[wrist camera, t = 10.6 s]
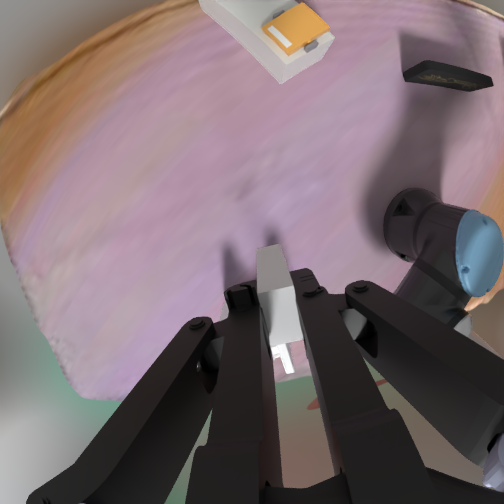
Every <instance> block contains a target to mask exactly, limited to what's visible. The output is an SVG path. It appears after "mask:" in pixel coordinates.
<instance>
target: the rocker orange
mask: <svg viewBox="0 0 504 504" xmlns="http://www.w3.org/2000/svg"><path fill="white" fill-rule="evenodd" d="M261 29H262V31H263V32H264V33H265V34H266V35H267V36H268V37H269V38H270V39H271V40H273V41H274V42H275V43H276V44H277V45H278V46H279V47H280V48H281V49H282V50H283V51H284V52H285V53H286V54H287V55H288V56H290V55H291V54H293V53H294V52H296V51H297V50H299V49H300V48H302V47H304V46H305V45H307V44H309V43H311V42H312V41H313V40H315V39H316V38H318V37H320V36H321V35H323V34H325V33H326V32H328V31H329V30H330V26H329V25H328V24H327V23H325V22H324V21H323V20H322V19H321V18H320V17H319V16H318V15H317V14H316V13H315V12H314V11H313V10H311V9H310V8H309V7H308V6H307V5H306V4H305V3H303V2H301V3H300V4H298V5H296V6H294V7H293V8H291V9H289V10H288V11H286V12H284V13H283V14H281V15H280V16H278V17H276V18H275V19H273V20H272V21H270V22H269V23H267V24H266V25H264V26H263V27H261Z"/></svg>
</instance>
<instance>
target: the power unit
mask: <svg viewBox="0 0 504 504" xmlns="http://www.w3.org/2000/svg"><path fill="white" fill-rule="evenodd" d="M198 1H199V3H200V6H201V9H202V11H204V12H205V13H206V14H207V15H208V16H210V17H211V18H212V19H213V20H214V21H216V22H217V23H218V24H219V25H220V26H221V27H223V28H224V29H225V30H226V31H227V32H228V33H229V34H230V35H231V36H233V37H234V38H235V39H236V40H237V41H238V42H239V43H240V44H241V45H242V46H243V47H244V48H245V49H246V50H247V51H248V52H249V53H250V54H251V55H252V56H253V57H254V58H255V59H256V60H257V61H258V62H259V63H260V64H261V65H262V66H263V67H264V68H265V69H266V70H267V71H268V72H269V73H270V74H271V75H272V76H273V77H274V78H275V79H276V80H277V82H278V83H279V84H280V85H281V84H282V83H284V82H285V81H287V80H288V79H290V78H292V77H293V76H295V75H296V74H298V73H300V72H301V71H303V70H304V69H306V68H308V67H309V66H311V65H313V64H314V63H316V62H318V61H320V60H321V59H322V58H323V56H324V54H325V53H326V51H327V50H328V48H329V47H330V45H331V43H332V42H333V40H334V39H335V37H334V36H333V35H332V34H331V33H330V32H329V31H328V32H326V33H325V34H323V35H321V36H320V37H318V38H316V39H315V40H313V41H312V42H311V43H309V44H307V45H305V46H304V47H302V48H300V49H299V50H297V51H296V52H294V53H293V54H291V55H290V56H288V55H287V54H286V53H285V52H284V51H283V50H282V49H281V48H280V47H279V46H278V45H277V44H276V43H275V42H274V41H273V40H271V39H270V38H269V37H268V36H267V35H266V34H265V33H264V32H263V31H262V29H261V27H263V26H264V25H266V24H267V23H269V22H270V21H272V20H273V19H275V18H276V17H278V16H280V15H281V14H283V13H284V12H286V11H288V10H289V9H291V8H293V7H294V6H296V5H298V4H299V3H297V2H296V1H295V0H198Z"/></svg>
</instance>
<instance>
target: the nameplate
mask: <svg viewBox="0 0 504 504" xmlns="http://www.w3.org/2000/svg"><path fill="white" fill-rule="evenodd" d="M403 75H404V78H405V82H412V83H420V84H428V85H435V86H441V87H447V88H452V89H458V90H463V91H467V92H471V91H475V90H479V89H483V88H487V87H492V86H494V85H493V82H492V78H491V77H489V76H486V75H484V74H480V73H477V72H474V71H471V70H467V69H464V68H460V67H456V66H452V65H448V64H444V63H440V62H435V61H430V60H426V61H423V62H421V63H419V64H417V65H416V66H414V67H412V68H410V69H409V70H407V71H405V72H403Z"/></svg>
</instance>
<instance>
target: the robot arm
mask: <svg viewBox="0 0 504 504" xmlns="http://www.w3.org/2000/svg"><path fill="white" fill-rule="evenodd" d="M384 236H385V240H386V243H387V245H388V247H389V248H390V250H391V251H392V252H393V253H394V254H395V255H396V256H398V257H399V258H401V259H402V260H404V261H406V262H410V263H414V264H413V265H412V267H411V268H410V270H409V271H408V273H407V274H406V276H405V277H404V279H403V280H402V282H401V283H400V285H399V286H398V287H397V289H396V290H395V292H394V293H391V292H389V291H387V290H386V289H384V288H382V287H380V286H378V285H377V284H375V283H373V282H370V281H364V280H360V281H356V282H353V283H351V284H349V285H347V287H346V288H345V294H328V292H327V290H326V289H325V288H324V287H322V286H320V285H319V283H318V281H317V279H316V278H315V276H314V274H313V272H312V270H309V269H307V268H304V269H299V270H295V271H291V272H289V270H288V267H287V264H286V261H285V258H284V255H283V252H282V249H281V246H280V244H276V245H271V246H267V247H263V248H258V249H257V280H254V281H249V282H245V283H241V284H238V285H234V286H232V287H230V288H228V289H227V290H226V291H225V292H224V296H225V300H226V303H227V306H228V309H229V313H228V318H226V319H224V320H222V321H219V322H216V323H214V324H213V321H212V319H211V318H209V317H196V318H193V319H191V320H190V321H188V322H187V323H186V324H184V326H183V327H182V328H181V329H180V330H179V332H178V333H177V334H176V335H175V337H174V338H173V339H172V340H171V342H170V343H169V344H168V345H167V347H166V348H165V349H164V350H163V352H162V353H161V354H160V355H159V357H158V358H157V359H156V360H155V362H154V363H153V364H152V365H151V367H150V368H149V369H148V370H147V372H146V373H145V374H144V375H143V377H142V378H141V379H140V380H139V382H138V383H137V384H136V386H135V387H134V388H133V389H132V391H131V392H130V393H129V394H128V396H127V397H126V398H125V399H124V401H123V402H122V403H121V404H120V406H119V407H118V408H117V410H116V411H115V412H114V413H113V415H112V416H111V417H110V418H109V420H108V421H107V422H106V423H105V425H104V426H103V427H102V429H101V430H100V431H99V432H98V434H97V435H96V436H95V437H94V439H93V440H92V441H91V443H90V444H89V445H88V447H87V448H86V449H85V450H84V452H83V453H82V454H81V455H80V457H79V458H78V459H77V461H76V462H75V463H74V464H73V465H72V466H70V467H69V468H67V469H66V470H64V471H63V472H62V473H60V474H59V475H57V476H56V477H54V478H53V479H51V480H50V481H48V482H47V483H45V484H44V485H42V486H41V487H39V488H38V489H36V490H35V491H34V492H32V493H31V494H30V495H29V497H28V499H27V501H26V504H164V503H165V501H166V499H167V497H168V495H169V493H170V492H171V490H172V488H173V486H174V484H175V482H176V480H177V478H178V476H179V474H180V472H181V470H182V468H183V467H184V465H185V463H186V461H187V459H188V457H189V455H190V453H191V451H192V448H193V447H194V445H195V442H196V441H197V439H198V437H199V435H200V432H201V430H202V428H203V426H204V424H205V422H206V420H207V418H208V416H209V414H210V411H211V410H212V415H211V421H210V427H209V434H208V440H207V444H206V445H205V446H198V448H197V449H196V450H195V453H194V457H193V462H192V468H191V473H190V479H189V485H188V491H187V496H186V501H185V504H504V359H503V358H501V356H499V354H498V353H497V352H496V351H494V350H493V349H492V348H491V347H490V346H489V345H488V344H487V343H486V342H485V341H484V340H483V339H482V338H481V337H479V336H478V335H477V334H476V333H475V332H474V331H473V328H472V316H471V315H470V314H469V313H468V312H466V311H465V310H464V308H465V306H466V305H467V303H468V302H469V300H470V299H471V297H481V296H484V295H485V294H486V292H489V291H490V290H491V289H492V288H493V286H494V285H495V283H496V281H497V279H498V277H499V275H500V272H501V269H502V265H503V258H504V242H503V237H502V233H501V231H500V228H499V226H498V225H497V223H496V222H495V221H494V220H493V219H492V218H490V217H489V216H486V215H484V214H481V213H480V212H478V211H477V210H470V209H466V208H462V207H458V206H454V205H450V204H446V203H443V202H442V201H441V200H440V199H439V198H437V196H435V195H434V194H433V193H432V192H430V191H428V190H425V189H419V188H410V189H406V190H404V191H402V192H401V193H399V194H398V195H397V196H396V197H395V198H394V199H393V200H392V202H391V203H390V205H389V207H388V209H387V212H386V215H385V219H384ZM303 339H304V345H305V350H306V356H307V359H308V361H309V365H310V369H311V373H312V377H313V381H314V385H315V389H316V393H317V397H318V402H319V406H320V410H321V414H322V419H323V423H324V427H325V432H326V436H327V440H328V445H329V450H330V454H331V459H332V463H333V467H334V473H335V476H334V477H332V478H330V479H327V480H325V481H323V482H320V483H318V484H316V485H314V486H311V487H308V488H302V489H299V488H298V489H297V488H284V486H283V481H282V467H281V454H280V441H279V429H278V417H277V404H276V392H275V380H274V369H273V358H272V351H271V347H270V344H271V346H275V345H280V344H285V343H290V342H294V341H299V340H303ZM363 358H364V359H365V360H366V361H367V362H368V363H369V364H371V366H373V367H374V368H375V369H376V370H377V371H378V372H379V373H380V374H381V375H382V376H383V377H384V378H385V379H386V380H387V381H388V382H389V383H390V384H391V385H392V386H393V387H394V388H395V389H396V390H397V391H398V392H399V393H400V394H401V395H402V396H403V397H404V398H405V399H406V400H407V401H408V402H409V403H410V404H411V405H412V406H413V407H414V408H415V409H416V410H417V411H418V412H419V413H420V414H421V415H422V416H424V418H425V419H426V420H427V421H428V422H429V423H430V424H431V425H432V426H433V427H434V428H435V429H436V430H437V431H438V432H439V433H440V434H441V435H442V436H443V437H444V438H445V439H446V440H448V442H449V443H450V444H451V445H452V446H454V447H455V449H457V450H458V451H459V452H460V453H461V454H462V455H463V456H465V457H466V458H467V459H468V460H470V461H472V462H473V463H475V464H476V465H478V466H480V467H482V468H483V475H484V476H483V484H484V485H485V486H487V487H493V488H495V490H492V489H488V488H485V487H482V486H478V485H475V484H472V483H469V482H466V481H463V480H460V479H457V478H455V477H452V476H449V475H447V474H444V473H441V472H439V471H436V470H434V469H431V468H427V467H425V466H424V463H423V461H422V459H421V456H420V455H419V452H418V450H417V448H416V446H415V444H414V441H413V439H412V437H411V435H410V433H409V431H408V429H407V427H406V425H405V423H404V420H403V419H402V417H401V415H400V413H399V412H398V411H397V410H396V409H391V410H389V409H388V408H387V406H386V404H385V402H384V400H383V398H382V395H381V393H380V391H379V389H378V387H377V385H376V383H375V381H374V379H373V377H372V375H371V373H370V371H369V369H368V367H367V365H366V363H365V361H364V359H363ZM197 365H198V368H197ZM212 408H213V409H212Z"/></svg>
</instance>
